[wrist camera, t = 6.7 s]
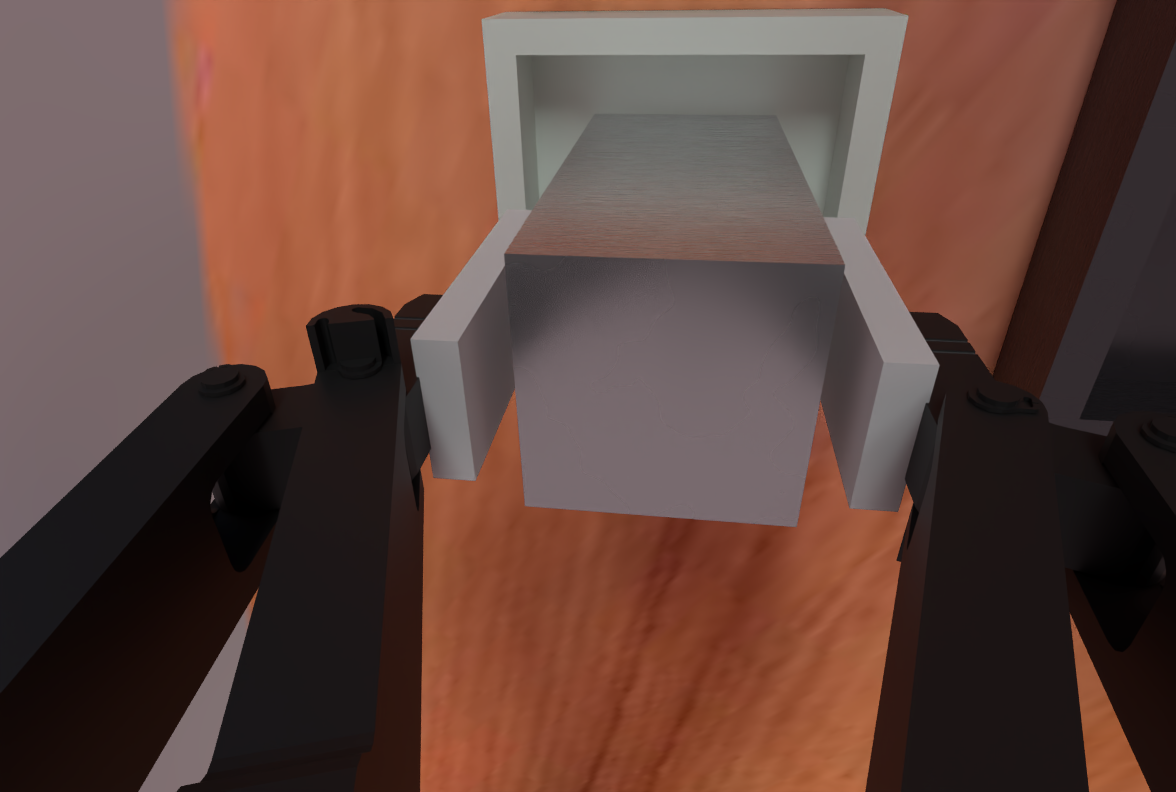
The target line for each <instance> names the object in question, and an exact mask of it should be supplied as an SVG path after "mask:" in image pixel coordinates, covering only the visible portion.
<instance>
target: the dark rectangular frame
mask: <svg viewBox="0 0 1176 792" xmlns="http://www.w3.org/2000/svg"><path fill="white" fill-rule="evenodd" d="M993 378H994V379H995V381H999V382H1003V383H1006V384H1010V385H1014V386H1016V387H1018V388H1021V389H1023V390H1025V391H1027V392H1029V393H1031V394H1032V395H1034V396H1035V397H1036V398H1038V399H1039V400H1040V401H1041V402H1043V404H1044V406H1045V408H1046V410H1047V412H1048V419H1049V423H1052V424H1056V425H1060V426H1063V427H1067V428H1071V429H1076V430H1081V431H1085V432H1090V433H1094V434H1099V435H1104V436H1107V435H1108V433H1109V430H1110V428H1111V426H1112V424H1113V422H1114V421H1115V419H1116V418H1117V416H1118V415H1121V414H1124V413H1127V412H1131V411H1151V412H1157V413H1162V414H1165V413H1169V414H1174V415H1176V0H1117V4H1116V7H1115V10H1114V13H1113V16H1112V19H1111V22H1110V25H1109V28H1108V31H1107V34H1106V37H1105V40H1104V43H1103V46H1102V49H1101V52H1100V55H1099V58H1098V61H1097V64H1096V67H1095V70H1094V73H1093V76H1092V79H1091V82H1090V85H1089V88H1088V91H1087V94H1086V97H1085V100H1084V103H1083V106H1082V109H1081V112H1080V115H1079V118H1078V121H1077V124H1076V127H1075V130H1074V133H1073V136H1072V139H1071V142H1070V145H1069V148H1068V151H1067V154H1066V157H1065V160H1064V163H1063V166H1062V169H1061V172H1060V175H1059V178H1058V181H1057V184H1056V187H1055V190H1054V193H1053V196H1052V199H1051V202H1050V205H1049V208H1048V211H1047V214H1046V217H1045V220H1044V223H1043V226H1042V229H1041V232H1040V235H1039V239H1038V242H1037V245H1036V248H1035V251H1034V254H1033V257H1032V260H1031V263H1030V266H1029V269H1028V272H1027V275H1026V278H1025V281H1024V284H1023V287H1022V290H1021V293H1020V296H1019V299H1018V302H1017V305H1016V308H1015V311H1014V314H1013V317H1012V320H1011V323H1010V326H1009V329H1008V332H1007V335H1006V338H1005V341H1004V344H1003V347H1002V350H1001V353H1000V356H999V359H998V362H997V365H996V368H995V371H994V374H993Z"/></svg>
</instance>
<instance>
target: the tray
mask: <svg viewBox="0 0 1176 792" xmlns="http://www.w3.org/2000/svg"><path fill="white" fill-rule="evenodd" d="M907 21H908V15H905V14H902V13H898V12H895V11H892V10H889V9H885V8H859V9H755V10H652V11H549V12H503V13H500V14H497V15H494V16H490V17H487V18H484V19H482V30H483V42H484V53H485V65H486V77H487V89H488V100H489V112H490V124H491V136H492V147H493V159H494V171H495V183H496V194H497V206H498V218H499V220H500V218H501V217H502V216H503V214H504V213H505V212H506V210H507V209H515V210H533V208H534V207H535V205H536V204H537V202H538V200H539V199H540V197H541V196H542V194H543V193H544V191H545V190H546V188H547V187H548V185H549V183H550V182H551V180H552V179H553V177H554V176H555V174H556V173H557V171H558V170H559V168H560V167H561V165H562V163H563V162H564V160H565V159H566V157H567V156H568V154H569V153H570V151H571V150H572V148H573V146H574V145H575V143H576V142H577V140H578V139H579V137H580V136H581V134H582V133H583V131H584V130H585V128H586V126H587V125H588V123H589V122H590V120H591V119H592V117H593V116H594V114H679V115H776V116H777V118H778V120H779V123H780V125H781V127H782V129H783V131H784V133H785V135H786V138H787V140H788V142H789V144H790V146H791V148H792V151H793V153H794V155H795V157H796V159H797V161H798V164H799V166H800V168H801V170H802V172H803V174H804V177H805V179H806V181H807V183H808V185H809V187H810V189H811V192H812V194H813V196H814V198H815V200H816V202H817V205H818V207H819V209H820V211H821V213H822V215H823V217H834V218H855V219H856V221H857V223H858V225H859V226H860V228H861V230H862V231H863V233H864V235H865V234H866V229H867V224H868V219H869V214H870V209H871V204H872V199H873V194H874V189H875V184H876V178H877V173H878V168H879V163H880V158H881V153H882V148H883V143H884V138H885V133H886V128H887V123H888V118H889V113H890V107H891V102H892V97H893V92H894V87H895V82H896V77H897V72H898V67H899V62H900V57H901V52H902V47H903V41H904V36H905V31H906V26H907Z"/></svg>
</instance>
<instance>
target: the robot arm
mask: <svg viewBox="0 0 1176 792" xmlns="http://www.w3.org/2000/svg"><path fill="white" fill-rule="evenodd" d="M531 211H532V210H515V209H507V210H506V212H505V213H504V214H503V216H502V217H501V218H500V220H499V221H498V222H497V224H496V225H495V226H494V228H493V229H492V230H491V232H490V233H489V234H488V236H487V237H486V238H485V240H484V241H483V243H482V244H481V245H480V247H479V248H478V249H477V251H476V252H475V253H474V255H473V256H472V257H471V259H470V260H469V261H468V263H467V264H466V265H465V267H464V268H463V269H462V271H461V272H460V273H459V275H458V276H457V277H456V279H455V280H454V281H453V283H452V284H451V285H450V287H449V288H448V289H447V291H446V292H445V293H444V295H431V294H423V295H421V296H419V297H417V298H415V299H414V300H412V301H410V302H408V303H406V304H405V305H404V306H403V307H402V308H401V309H400V311H399V312H398V313H397V314H396V315H395V319H393V316H392V313H391V311H389V310H387V309H385V308H384V307H381V306H376V305H370V304H357V305H348V306H342V307H337V308H334V309H331V310H328V311H325V312H322V313H320V314H319V315H317V316H315V317H314V318H312V319H311V320H310V321H309V323H308V324H307V325H306V329H307V333H308V337H309V341H310V345H311V349H312V353H313V356H314V360H315V364H316V368H317V376H316V380H315V383H314V384H309V385H304V386H296V387H287V388H279V389H270V385H269V382H268V378H267V376H266V373H265V371H264V370H263V369H261V368H259V367H257V366H252V365H244V364H238V365H230V364H226V365H220V366H219V367H212V368H209V369H207V370H206V371H204V372H202V373H200V374H197V375H195V376H193V377H191V378H190V379H189V380H187V381H186V382H185V383H183V384H181V385H180V386H179V387H178V388H177V389H176V390H175V391H174V392H173V393H172V394H171V395H170V396H169V397H168V398H167V399H166V400H165V401H164V402H163V403H162V404H161V405H160V406H159V407H157V408H156V409H155V410H154V411H153V412H152V413H151V414H150V415H149V416H148V417H147V418H146V419H145V420H144V421H143V422H142V423H141V424H140V425H139V426H138V427H137V428H136V429H134V431H132V432H131V433H130V434H129V435H128V436H127V437H126V438H125V439H124V440H123V441H122V442H121V443H120V444H119V445H118V446H117V447H116V448H115V449H114V450H113V451H112V452H110V453H109V454H108V455H107V456H106V457H105V458H104V459H103V460H102V461H101V462H100V463H99V464H98V465H97V466H96V467H95V468H94V469H93V470H92V471H91V472H90V473H89V474H87V476H85V477H84V478H83V479H82V480H81V481H80V482H79V483H78V484H77V485H76V486H75V487H74V488H73V489H72V490H71V491H70V492H69V493H68V494H67V495H66V496H65V497H63V499H61V501H59V502H58V503H57V504H56V505H55V506H54V507H53V508H52V509H51V510H50V511H49V512H48V513H47V514H46V515H45V516H44V517H43V518H42V519H41V520H40V521H38V522H37V523H36V524H35V526H33V527H32V528H31V529H30V530H29V531H28V532H27V533H26V534H25V535H24V536H23V537H22V538H21V539H20V540H19V541H18V542H16V543H15V544H14V546H12V547H11V548H10V549H9V550H8V551H7V552H6V553H5V554H4V555H3V556H2V557H1V558H0V792H138V791H139V790H140V788H141V786H142V784H143V782H144V781H145V779H146V778H147V776H148V774H149V772H150V771H151V769H152V767H153V766H154V764H155V762H156V761H157V759H158V757H159V756H160V754H161V752H162V750H163V749H164V747H165V745H166V744H167V742H168V740H169V739H170V737H171V735H172V733H173V732H174V730H175V728H176V727H177V725H178V723H179V722H180V720H181V718H182V717H183V715H184V713H185V711H186V710H187V708H188V706H189V705H190V703H191V701H192V700H193V698H194V696H195V694H196V693H197V691H198V689H199V688H200V686H201V684H202V683H203V681H204V679H205V677H206V676H207V674H208V672H209V671H210V669H211V667H212V665H213V664H214V662H215V660H216V658H217V657H218V655H219V654H220V652H221V650H222V649H223V647H224V645H225V644H226V642H227V640H228V638H229V637H230V635H231V633H232V632H233V630H234V628H235V626H236V624H237V623H238V621H239V619H240V618H241V616H242V615H243V613H244V611H245V610H246V608H247V606H248V604H249V603H250V601H251V599H252V598H253V596H254V594H255V593H256V591H257V589H258V588H259V589H258V592H257V596H256V600H255V603H254V607H253V611H252V614H251V618H250V622H249V626H248V629H247V633H246V637H245V640H244V644H243V648H242V651H241V655H240V659H239V662H238V666H237V670H236V673H235V677H234V681H233V684H232V688H231V692H230V695H229V699H228V703H227V706H226V710H225V714H224V717H223V721H222V725H221V728H220V732H219V736H218V739H217V743H216V747H215V750H214V754H213V758H212V761H211V764H210V766H209V769H208V772H207V774H206V775H205V777H204V778H203V779H202V781H201V782H200V783H195V784H190V785H185V786H181V787H180V788H179V789H178V791H177V792H420V756H421V679H422V602H423V524H424V487H423V481H422V476H421V470H420V468H421V466H422V464H423V463H424V461H425V459H426V457H427V455H428V453H429V454H430V460H431V465H432V471H433V477H434V478H443V479H457V480H470V481H476V479H477V476H478V474H479V472H480V469H481V467H482V465H483V462H484V460H485V458H486V455H487V453H488V450H489V448H490V446H491V443H492V441H493V439H494V436H495V434H496V432H497V429H498V427H499V424H500V422H501V420H502V417H503V415H504V413H505V410H506V408H507V406H508V403H509V401H510V399H511V396H512V394H513V391H514V389H515V380H514V368H513V356H512V344H511V332H510V320H509V308H508V296H507V284H506V272H505V260H504V253H505V251H506V250H507V248H508V247H509V245H510V244H511V242H512V241H513V239H514V237H515V236H516V234H517V233H518V231H519V230H520V228H521V227H522V225H523V224H524V222H525V220H526V219H527V217H528V216H529V214H530V213H531ZM823 218H824V220H825V222H826V224H827V226H828V228H829V230H830V233H831V235H832V237H833V239H834V241H835V243H836V246H837V248H838V250H839V252H840V254H841V256H842V259H843V261H844V263H845V270H844V275H843V281H842V286H841V291H840V297H839V302H838V308H837V313H836V318H835V324H834V329H833V334H832V340H831V345H830V351H829V356H828V361H827V367H826V372H825V377H824V383H823V388H822V394H821V399H820V400H821V403H822V407H823V411H824V415H825V418H826V422H827V426H828V429H829V433H830V437H831V441H832V444H833V448H834V452H835V456H836V459H837V463H838V467H839V471H840V474H841V478H842V482H843V485H844V489H845V493H846V497H847V500H848V504H849V508H853V509H866V510H880V511H894V512H898V510H899V507H900V503H901V500H902V496H903V493H904V489H905V486H906V484H907V486H908V489H909V492H910V494H911V497H912V499H913V502H914V503H913V506H912V509H911V513H910V516H909V520H908V523H907V526H906V530H905V533H904V536H903V540H902V543H901V547H900V550H899V553H898V557H897V560H896V561H900V562H901V566H900V572H899V579H898V585H897V592H896V598H895V605H894V611H893V617H892V624H891V630H890V637H889V643H888V650H887V656H886V662H885V669H884V675H883V682H882V688H881V695H880V701H879V708H878V714H877V720H876V727H875V733H874V740H873V746H872V753H871V759H870V765H869V772H868V778H867V785H866V791H865V792H1089V787H1088V777H1087V768H1086V759H1085V750H1084V741H1083V731H1082V722H1081V713H1080V704H1079V695H1078V685H1077V676H1076V667H1075V658H1074V649H1073V640H1072V630H1071V621H1070V614H1071V616H1072V618H1073V621H1074V623H1075V625H1076V627H1077V629H1078V632H1079V634H1080V636H1081V638H1082V640H1083V643H1084V645H1085V647H1086V649H1087V651H1088V654H1089V656H1090V658H1091V660H1092V662H1093V665H1094V667H1095V669H1096V671H1097V673H1098V676H1099V678H1100V680H1101V682H1102V685H1103V687H1104V689H1105V691H1106V693H1107V696H1108V698H1109V700H1110V702H1111V704H1112V707H1113V709H1114V711H1115V713H1116V715H1117V718H1118V720H1119V722H1120V724H1121V726H1122V729H1123V731H1124V733H1125V735H1126V737H1127V740H1128V742H1129V744H1130V746H1131V749H1132V751H1133V753H1134V755H1135V757H1136V760H1137V762H1138V764H1139V766H1140V768H1141V771H1142V773H1143V775H1144V777H1145V779H1146V782H1147V784H1148V786H1149V788H1150V790H1151V792H1176V415H1174V414H1169V413H1165V414H1162V413H1157V412H1151V411H1131V412H1127V413H1124V414H1121V415H1118V416H1117V418H1116V419H1115V421H1114V422H1113V424H1112V426H1111V428H1110V430H1109V433H1108V435H1107V436H1104V435H1099V434H1094V433H1090V432H1085V431H1081V430H1076V429H1071V428H1067V427H1063V426H1060V425H1056V424H1052V423H1049V419H1048V412H1047V410H1046V408H1045V406H1044V404H1043V402H1041V401H1040V400H1039V399H1038V398H1036V397H1035V396H1034V395H1032V394H1031V393H1029V392H1027V391H1025V390H1023V389H1021V388H1018V387H1016V386H1014V385H1010V384H1006V383H1003V382H999V381H995V379H994V378H993V376H992V375H991V373H990V372H989V370H988V369H987V368H986V366H985V365H984V363H983V362H982V360H981V359H980V357H979V356H978V354H975V350H974V349H973V347H972V346H971V344H970V343H967V338H966V337H965V336H964V334H963V333H962V331H961V330H960V328H959V327H958V326H957V325H956V324H954V323H953V322H951V321H949V320H948V319H946V318H945V317H943V316H942V315H940V314H938V313H924V312H909V311H908V309H907V308H906V306H905V304H904V302H903V301H902V299H901V297H900V296H899V294H898V292H897V290H896V289H895V287H894V285H893V283H892V282H891V280H890V278H889V276H888V275H887V273H886V271H885V270H884V268H883V266H882V264H881V263H880V261H879V259H878V257H877V256H876V254H875V252H874V251H873V249H872V247H871V245H870V244H869V242H868V240H867V238H866V237H865V235H864V233H863V231H862V230H861V228H860V226H859V225H858V223H857V221H856V219H855V218H834V217H823ZM212 493H213V495H214V498H215V499H214V500H213V502H212V503H211V504H210V502H211V495H212Z"/></svg>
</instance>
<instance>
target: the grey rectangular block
mask: <svg viewBox="0 0 1176 792" xmlns="http://www.w3.org/2000/svg"><path fill="white" fill-rule="evenodd" d="M504 260H505V272H506V284H507V296H508V308H509V320H510V332H511V344H512V356H513V368H514V380H515V392H516V404H517V416H518V428H519V440H520V452H521V464H522V476H523V488H524V500H525V506H529V507H542V508H555V509H569V510H582V511H595V512H608V513H621V514H634V515H647V516H660V517H673V518H686V519H699V520H712V521H725V522H738V523H751V524H764V525H777V526H790V527H797V522H798V517H799V512H800V506H801V501H802V496H803V490H804V485H805V479H806V474H807V469H808V463H809V458H810V453H811V447H812V442H813V436H814V431H815V426H816V420H817V415H818V410H819V404H820V399H821V394H822V388H823V383H824V377H825V372H826V367H827V361H828V356H829V351H830V345H831V340H832V334H833V329H834V324H835V318H836V313H837V308H838V302H839V297H840V291H841V286H842V281H843V275H844V270H845V263H844V261H843V259H842V256H841V254H840V252H839V250H838V248H837V246H836V243H835V241H834V239H833V237H832V235H831V233H830V230H829V228H828V226H827V224H826V222H825V220H824V218H823V215H822V213H821V211H820V209H819V207H818V205H817V202H816V200H815V198H814V196H813V194H812V192H811V189H810V187H809V185H808V183H807V181H806V179H805V177H804V174H803V172H802V170H801V168H800V166H799V164H798V161H797V159H796V157H795V155H794V153H793V151H792V148H791V146H790V144H789V142H788V140H787V138H786V135H785V133H784V131H783V129H782V127H781V125H780V123H779V120H778V118H777V116H776V115H679V114H594V116H593V117H592V119H591V120H590V122H589V123H588V125H587V126H586V128H585V130H584V131H583V133H582V134H581V136H580V137H579V139H578V140H577V142H576V143H575V145H574V146H573V148H572V150H571V151H570V153H569V154H568V156H567V157H566V159H565V160H564V162H563V163H562V165H561V167H560V168H559V170H558V171H557V173H556V174H555V176H554V177H553V179H552V180H551V182H550V183H549V185H548V187H547V188H546V190H545V191H544V193H543V194H542V196H541V197H540V199H539V200H538V202H537V204H536V205H535V207H534V208H533V210H532V211H531V213H530V214H529V216H528V217H527V219H526V220H525V222H524V224H523V225H522V227H521V228H520V230H519V231H518V233H517V234H516V236H515V237H514V239H513V241H512V242H511V244H510V245H509V247H508V248H507V250H506V251H505V253H504Z"/></svg>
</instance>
